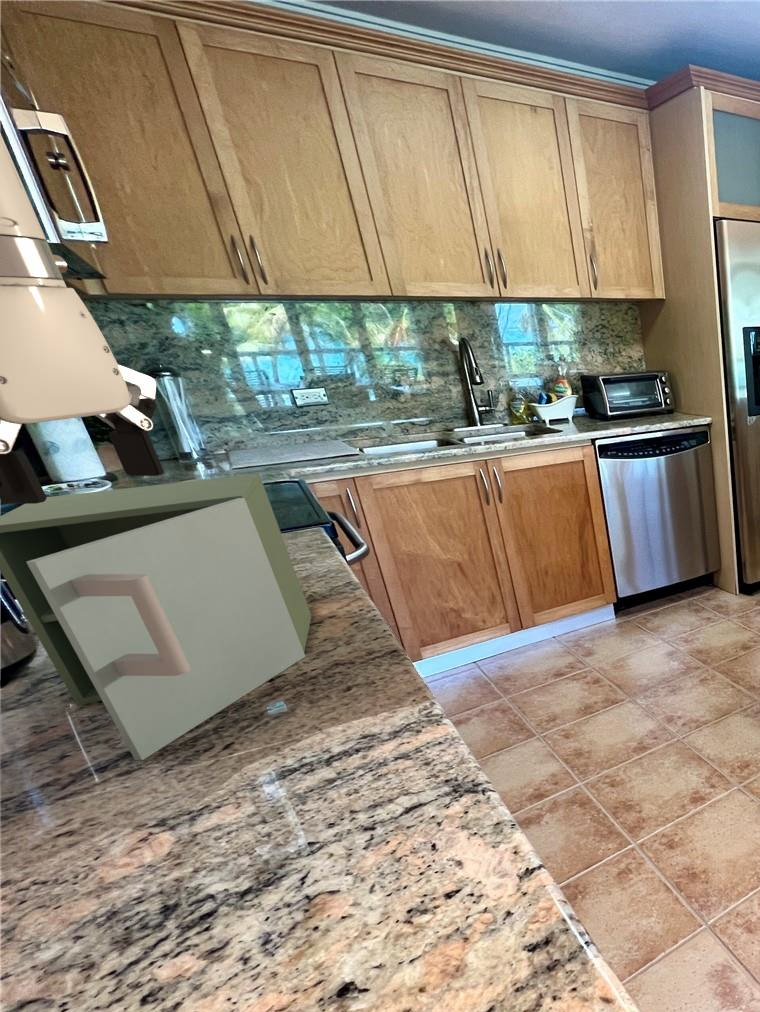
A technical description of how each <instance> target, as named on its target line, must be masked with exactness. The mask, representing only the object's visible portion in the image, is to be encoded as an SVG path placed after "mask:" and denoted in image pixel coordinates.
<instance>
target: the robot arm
mask: <svg viewBox="0 0 760 1012" xmlns="http://www.w3.org/2000/svg"><path fill="white" fill-rule="evenodd" d="M66 272H68V264H67V262H66V260H65V259H64V258H63V257H62V256H61V255H57V254H54V253H53V252H52V250H51V247H50V245H49V242H48V241H47V238H46V236H45V233H44V231H43V229H42V226H41V224H40V222H39V219H38V217H37V215H36V212H35V210H34V208H33V205H32V203H31V201H30V198H29V196H28V194H27V191H26V189H25V187H24V184H23V182H22V180H21V177H20V175H19V172H18V170H17V168H16V166H15V163H14V161H13V159H12V156H11V154H10V151H9V150H8V146H7V144H6V143H5V140H4V138H3V136H2V133H1V132H0V500H1V502H3V503H4V504H7V505H8V504H10V505H11V504H13V505H14V504H15V505H16V504H18V505H19V504H22V505H24V504H36V503H41V502H44V501H45V500H46V499H47V497H48V496H47V495H46V492H45V490H44V489H43V487H42V485H41V483H40V481H39V478H38V477H37V475H36V473H35V471H34V469H33V467H32V465H31V462H30V461H29V458H28V456H27V455H26V454H25V453H24V452H23V451H13V446H14V444H15V442H16V440H17V437H18V434H19V432H20V430H21V427H22V425H23V424H36V423H38V424H39V423H46V422H53V421H54V422H55V421H62V420H70V419H76V418H86V417H91V416H92V417H93V416H95V417H97V418H98V419H100V420H101V421H102V422H104V423H105V424H107V425H108V426H109V427H111V428H113V429H114V430H115V431H108V434H109V439H110V441H111V443H112V445H113V448H114V450H115V452H116V455H117V458H118V460H119V461H120V464H121V466H122V468H123V471H124V473H125V474H126V475H128V476H130V477H158V476H161V475H164V473H165V471H164V468H163V465H162V463H161V461H160V458H159V456H158V454H157V451H156V449H155V446H154V444H153V442H152V439H151V437H150V435H149V432H148V431H151V430H153V428H154V423H153V421H152V418H153V416H154V415H155V412H156V411H157V404H156V401H155V400H156V392H157V382H156V380H155V379H154V377H152V376H149V375H147V374H144V373H142V372H139V371H136V370H134V369H131V368H129V367H126V366H123V365H120V364H118V362H117V359H116V358H115V356H114V353H113V352H112V350H111V348H110V346H109V344H108V342H107V340H106V338H105V337H104V334H103V333H102V331H101V330H100V328H99V326H98V324H97V322H96V321H95V319H94V317H93V316H92V314H91V312H90V311H89V309H88V308H87V306H86V305H85V304H84V302H83V300H82V299H81V297H80V296H79V295H78V293H77V292H76V290H75V289H74V288H73V287H67V285H66V282H65V280H64V278H63V275H62V274H64V273H66Z"/></svg>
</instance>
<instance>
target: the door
mask: <svg viewBox="0 0 760 1012" xmlns="http://www.w3.org/2000/svg"><path fill="white" fill-rule="evenodd" d="M27 564H28V566H29V568H30V570H31V572H32V573H33V575H34V577H35V579H36V581H37V582H38V584H39V586H40V588H41V590H42V592H43V593H44V595H45V597H46V599H47V601H48V603H49V604H50V606H51V608H52V610H53V612H54V613H55V615H56V617H57V619H58V621H59V623H60V624H61V626H62V628H63V630H64V632H65V634H66V635H67V637H68V639H69V641H70V643H71V645H72V646H73V648H74V650H75V652H76V654H77V655H78V657H79V659H80V661H81V663H82V665H83V666H84V668H85V670H86V672H87V674H88V676H89V677H90V679H91V681H92V683H93V685H94V686H95V688H96V690H97V692H98V694H99V696H100V697H101V699H102V700H101V701H102V703H103V705H104V706H105V708H106V710H107V712H108V714H109V716H110V717H111V719H112V721H113V724H114V725H115V726H116V729H117V730H118V732H119V734H120V735H121V738H122V740H123V741H124V743H125V745H126V747H127V748H128V751H129V752H130V754H131V756H132V757H133V759H134V761H136V762H137V761H138V762H139V761H141V762H142V761H144V760H145V759H148V758H149V757H150V756H152V755H154V754H155V753H157V752H158V751H160V750H162V749H163V748H164V747H166V746H167V745H169V744H171V743H173V742H174V741H176V740H177V739H178V738H180V737H182V736H183V735H185V734H186V733H188V732H189V731H191V730H194V728H196V727H197V726H199V725H200V724H202V723H204V722H205V721H206V720H208V719H210V718H212V717H213V716H215V715H217V714H218V713H220V712H221V711H222V710H224V709H225V708H228V707H229V706H230V705H232V704H233V703H235V702H237V701H239V700H240V699H241V698H243V697H244V696H246V695H247V694H249V693H252V691H254V690H255V689H258V688H259V687H260V686H262V685H263V684H265V683H266V682H268V681H269V680H271V679H273V678H275V677H276V676H277V675H279V674H281V673H282V672H284V671H285V670H287V669H289V668H290V667H291V666H293V665H295V664H296V663H298V662H300V661H301V660H302V659H304V658H306V654H305V650H304V651H303V649H302V646H301V644H300V641H299V638H298V636H297V633H296V631H295V628H294V625H293V623H292V620H291V618H290V615H289V612H288V610H287V607H286V605H285V602H284V599H283V597H282V594H281V592H280V589H279V586H278V584H277V581H276V579H275V576H274V573H273V571H272V568H271V566H270V563H269V560H268V558H267V555H266V553H265V550H264V547H263V545H262V542H261V540H260V537H259V534H258V532H257V529H256V527H255V524H254V521H253V519H252V516H251V514H250V511H249V508H248V506H247V503H246V501H245V498H237V499H234V500H230V501H227V502H224V503H220V504H217V505H214V506H210V507H207V508H204V509H200V510H197V511H194V512H190V513H187V514H184V515H180V516H177V517H174V518H170V519H167V520H164V521H160V522H157V523H154V524H150V525H147V526H144V527H140V528H137V529H134V530H130V531H127V532H124V533H120V534H117V535H114V536H110V537H107V538H104V539H100V540H97V541H94V542H90V543H87V544H84V545H80V546H77V547H74V548H70V549H67V550H64V551H60V552H57V553H54V554H50V555H47V556H44V557H40V558H37V559H34V560H30V561H27Z"/></svg>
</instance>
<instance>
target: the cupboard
mask: <svg viewBox="0 0 760 1012" xmlns="http://www.w3.org/2000/svg"><path fill="white" fill-rule="evenodd" d="M206 479H207V480H198V481H189V482H182V481H179V482H180V483H178V482H171V483H164V484H163V483H162V484H154V485H145V486H136V487H125V488H117V489H108V490H107V489H106V490H100V491H99V490H98V491H92V492H91V491H90V492H81V493H71V494H63V495H55V496H46V497H47V499H46V500H45V501H44V502H41V503H36V504H22V505H20V506H18V507H16V508H14V509H12V510H10V511H8V512H5V513H4V514H2V515H0V574H1V575H2V577H3V578H4V581H5V582H6V583H7V585H8V587H9V589H10V591H11V592H12V594H13V596H14V597H15V599H16V601H17V603H18V605H19V606H20V609H21V610H22V612H23V613H24V615H25V617H26V619H27V621H28V622H29V624H30V626H31V628H32V629H33V631H34V633H35V635H36V636H37V638H38V640H39V642H40V643H41V645H42V647H43V649H44V650H45V652H46V653H47V656H48V657H49V660H50V661H51V662H52V664H53V666H54V668H55V670H56V671H57V673H58V675H59V677H60V678H61V680H62V682H63V684H64V685H65V687H66V689H67V691H68V692H69V694H70V696H71V699H72V700H73V701H74V703H75V704H76V706H77V707H78V706H83V705H88V704H92V703H97V702H101V701H102V699H101V697H100V696H99V694H98V692H97V690H96V688H95V686H94V685H93V683H92V681H91V679H90V677H89V676H88V674H87V672H86V670H85V668H84V666H83V665H82V663H81V661H80V659H79V657H78V655H77V654H76V652H75V650H74V648H73V646H72V645H71V643H70V641H69V639H68V637H67V635H66V634H65V632H64V630H63V628H62V626H61V624H60V623H59V621H58V619H57V617H56V615H55V613H54V612H53V610H52V608H51V606H50V604H49V603H48V601H47V599H46V597H45V595H44V593H43V592H42V590H41V588H40V586H39V584H38V582H37V581H36V579H35V577H34V575H33V573H32V572H31V570H30V568H29V566H28V564H27V561H30V560H34V559H37V558H40V557H44V556H47V555H50V554H54V553H57V552H60V551H64V550H67V549H70V548H74V547H77V546H80V545H84V544H87V543H90V542H94V541H97V540H100V539H104V538H107V537H110V536H114V535H117V534H120V533H124V532H127V531H130V530H134V529H137V528H140V527H144V526H147V525H150V524H154V523H157V522H160V521H164V520H167V519H170V518H174V517H177V516H180V515H184V514H187V513H190V512H194V511H197V510H200V509H204V508H207V507H210V506H214V505H217V504H220V503H224V502H227V501H230V500H234V499H237V498H245V501H246V503H247V506H248V508H249V511H250V514H251V516H252V519H253V521H254V524H255V527H256V529H257V532H258V534H259V537H260V540H261V542H262V545H263V547H264V550H265V553H266V555H267V558H268V560H269V563H270V566H271V568H272V571H273V573H274V576H275V579H276V581H277V584H278V586H279V589H280V592H281V594H282V597H283V599H284V602H285V605H286V607H287V610H288V612H289V615H290V618H291V620H292V623H293V625H294V628H295V631H296V633H297V636H298V638H299V641H300V644H301V646H302V649H303V651H304V652H305V650H306V646H307V645H306V644H307V640H308V636H309V631H310V625H311V621H312V613H311V610H310V608H309V605H308V603H307V599H306V597H305V594H304V591H303V589H302V586H301V583H300V581H299V578H298V574H297V572H296V570H295V567H294V564H293V562H292V558H291V556H290V553H289V551H288V548H287V546H286V542H285V539H284V537H283V535H282V532H281V529H280V527H279V524H278V521H277V519H276V516H275V513H274V510H273V507H272V505H271V502H270V500H269V497H268V494H267V491H266V489H265V486H264V483H263V481H262V477H261V475H260V473H251V474H243V475H235V476H234V475H233V476H226V477H225V476H224V477H218V478H206Z"/></svg>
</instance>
